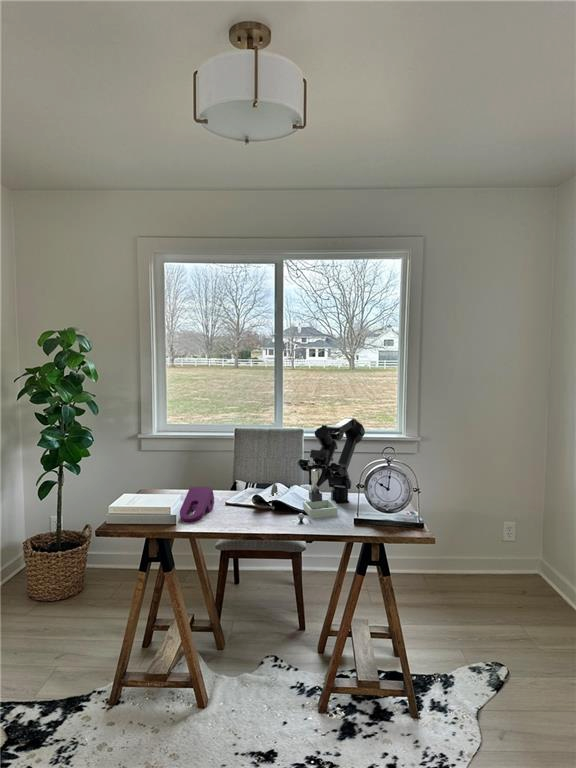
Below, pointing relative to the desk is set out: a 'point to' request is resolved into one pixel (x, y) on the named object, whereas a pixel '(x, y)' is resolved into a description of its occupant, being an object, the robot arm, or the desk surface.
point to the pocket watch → (274, 488)
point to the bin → (323, 512)
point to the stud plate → (301, 520)
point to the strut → (315, 487)
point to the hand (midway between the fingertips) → (313, 485)
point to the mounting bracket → (197, 503)
